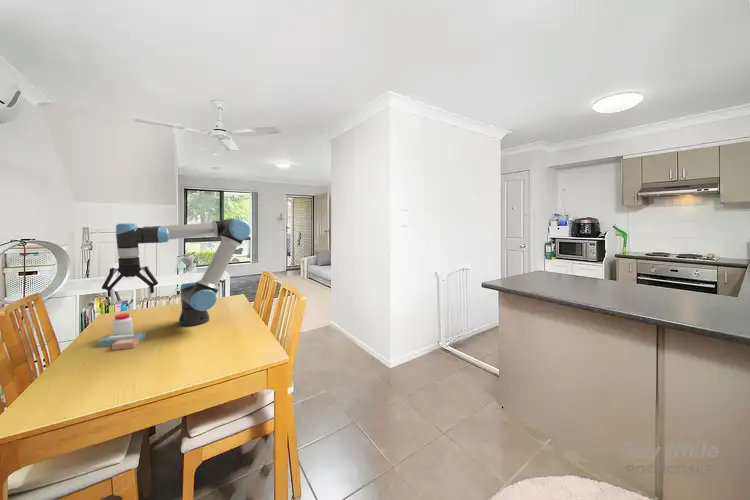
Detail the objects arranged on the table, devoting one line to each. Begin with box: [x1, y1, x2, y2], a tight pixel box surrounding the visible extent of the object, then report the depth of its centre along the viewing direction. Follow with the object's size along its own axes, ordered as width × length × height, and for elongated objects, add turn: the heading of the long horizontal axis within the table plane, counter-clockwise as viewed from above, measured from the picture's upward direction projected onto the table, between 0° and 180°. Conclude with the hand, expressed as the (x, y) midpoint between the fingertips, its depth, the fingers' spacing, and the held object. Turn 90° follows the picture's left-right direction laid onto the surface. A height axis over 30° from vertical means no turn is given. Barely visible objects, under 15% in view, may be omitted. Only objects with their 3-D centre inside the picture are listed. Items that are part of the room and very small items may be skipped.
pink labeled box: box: [111, 338, 141, 351], centre depth 135 cm, size 8×6×3 cm
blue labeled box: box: [97, 331, 147, 348], centre depth 140 cm, size 16×7×3 cm, turn 109°
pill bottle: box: [111, 312, 134, 335], centre depth 147 cm, size 8×8×11 cm
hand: (132, 301), depth 137 cm, fingers open, 13 cm apart
